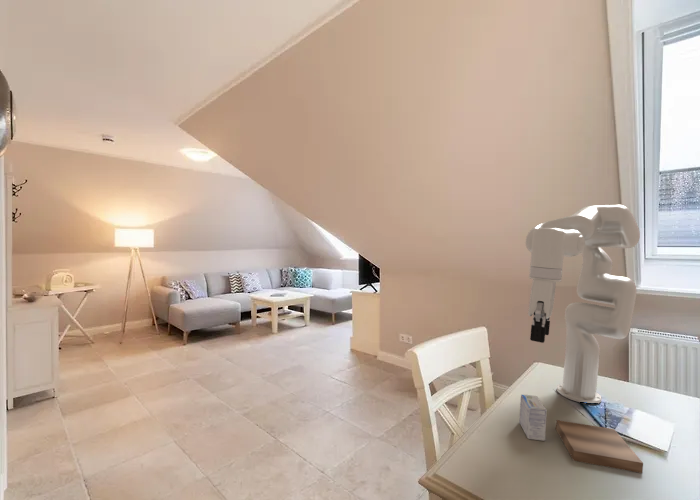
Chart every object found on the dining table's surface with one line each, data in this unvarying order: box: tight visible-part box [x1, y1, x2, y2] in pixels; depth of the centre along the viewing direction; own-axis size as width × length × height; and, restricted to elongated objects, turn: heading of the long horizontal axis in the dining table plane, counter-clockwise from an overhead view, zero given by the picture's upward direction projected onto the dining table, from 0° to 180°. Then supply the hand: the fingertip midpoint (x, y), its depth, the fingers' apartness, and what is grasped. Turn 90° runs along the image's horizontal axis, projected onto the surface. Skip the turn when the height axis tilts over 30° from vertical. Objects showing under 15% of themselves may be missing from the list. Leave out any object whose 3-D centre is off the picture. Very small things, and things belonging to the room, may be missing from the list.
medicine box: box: [518, 394, 548, 442], centre depth 94 cm, size 8×4×9 cm, turn 168°
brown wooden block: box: [555, 419, 644, 474], centre depth 88 cm, size 14×14×2 cm
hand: (539, 337), depth 92 cm, fingers open, 9 cm apart
